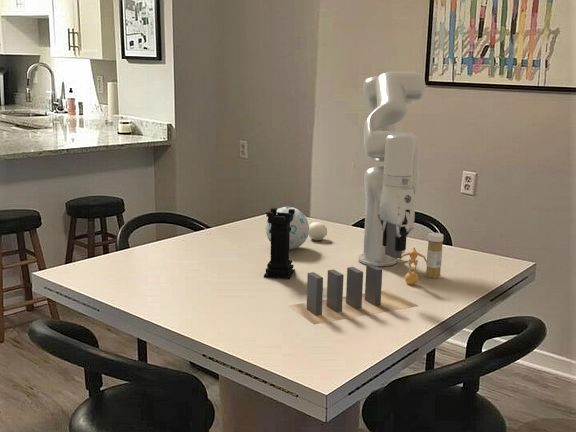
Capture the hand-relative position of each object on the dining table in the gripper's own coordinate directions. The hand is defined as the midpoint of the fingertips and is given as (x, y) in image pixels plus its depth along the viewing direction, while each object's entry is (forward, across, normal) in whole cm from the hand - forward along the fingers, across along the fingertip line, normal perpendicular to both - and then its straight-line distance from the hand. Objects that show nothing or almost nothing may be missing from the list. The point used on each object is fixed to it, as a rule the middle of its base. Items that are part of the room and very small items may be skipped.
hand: (393, 247), depth 175 cm
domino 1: (+15, 0, +24) cm, 28 cm away
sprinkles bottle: (+15, +13, -25) cm, 32 cm away
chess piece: (+15, +33, +18) cm, 41 cm away
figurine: (+15, +8, -13) cm, 22 cm away
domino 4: (+15, 0, +6) cm, 16 cm away
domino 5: (+2, 0, 0) cm, 2 cm away
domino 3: (+15, 0, +12) cm, 19 cm away
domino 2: (+15, 0, +18) cm, 23 cm away
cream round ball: (+15, +65, -13) cm, 68 cm away
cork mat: (+15, 0, +12) cm, 19 cm away
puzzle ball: (+15, +58, +3) cm, 60 cm away
